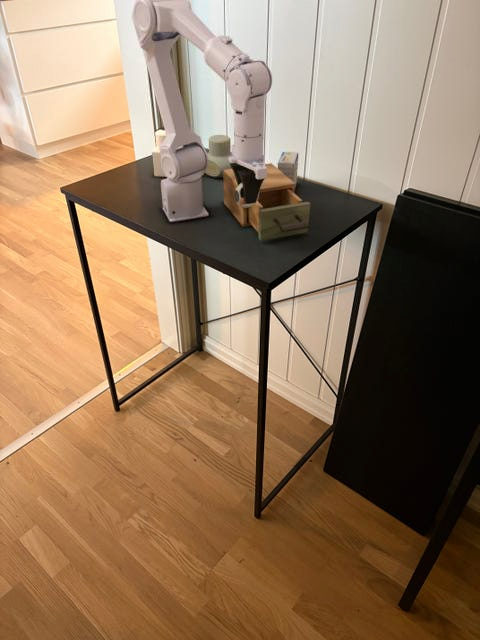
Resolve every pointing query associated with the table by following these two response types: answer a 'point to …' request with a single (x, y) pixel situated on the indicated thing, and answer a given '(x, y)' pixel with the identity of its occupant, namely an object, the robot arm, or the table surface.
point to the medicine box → (289, 165)
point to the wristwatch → (238, 196)
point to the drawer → (279, 214)
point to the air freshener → (218, 155)
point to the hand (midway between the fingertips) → (247, 199)
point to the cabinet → (270, 183)
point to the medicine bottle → (156, 155)
